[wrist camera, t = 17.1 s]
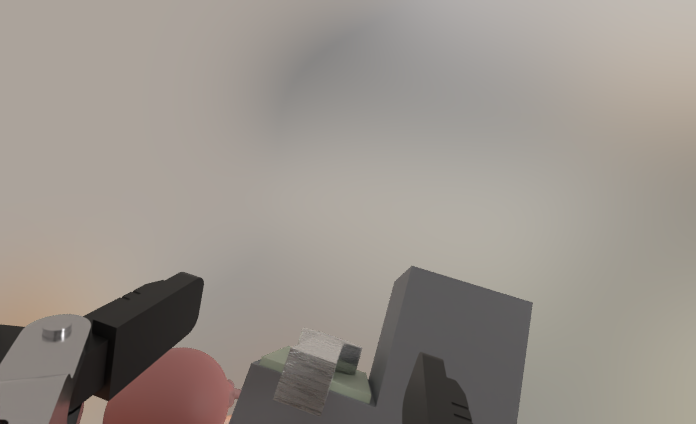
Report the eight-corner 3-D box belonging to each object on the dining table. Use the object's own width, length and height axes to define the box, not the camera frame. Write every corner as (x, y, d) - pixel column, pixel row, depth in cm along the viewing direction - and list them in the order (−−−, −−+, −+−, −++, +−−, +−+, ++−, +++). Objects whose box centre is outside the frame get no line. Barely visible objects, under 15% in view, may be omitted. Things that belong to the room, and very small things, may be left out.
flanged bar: (354, 369, 35) (361, 345, 36) (358, 430, 16) (372, 376, 16) (299, 350, 36) (307, 327, 37) (236, 386, 16) (255, 335, 17)
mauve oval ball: (249, 488, 47) (287, 375, 51) (91, 520, 33) (162, 362, 38) (201, 436, 57) (237, 346, 61) (66, 444, 43) (124, 327, 48)
